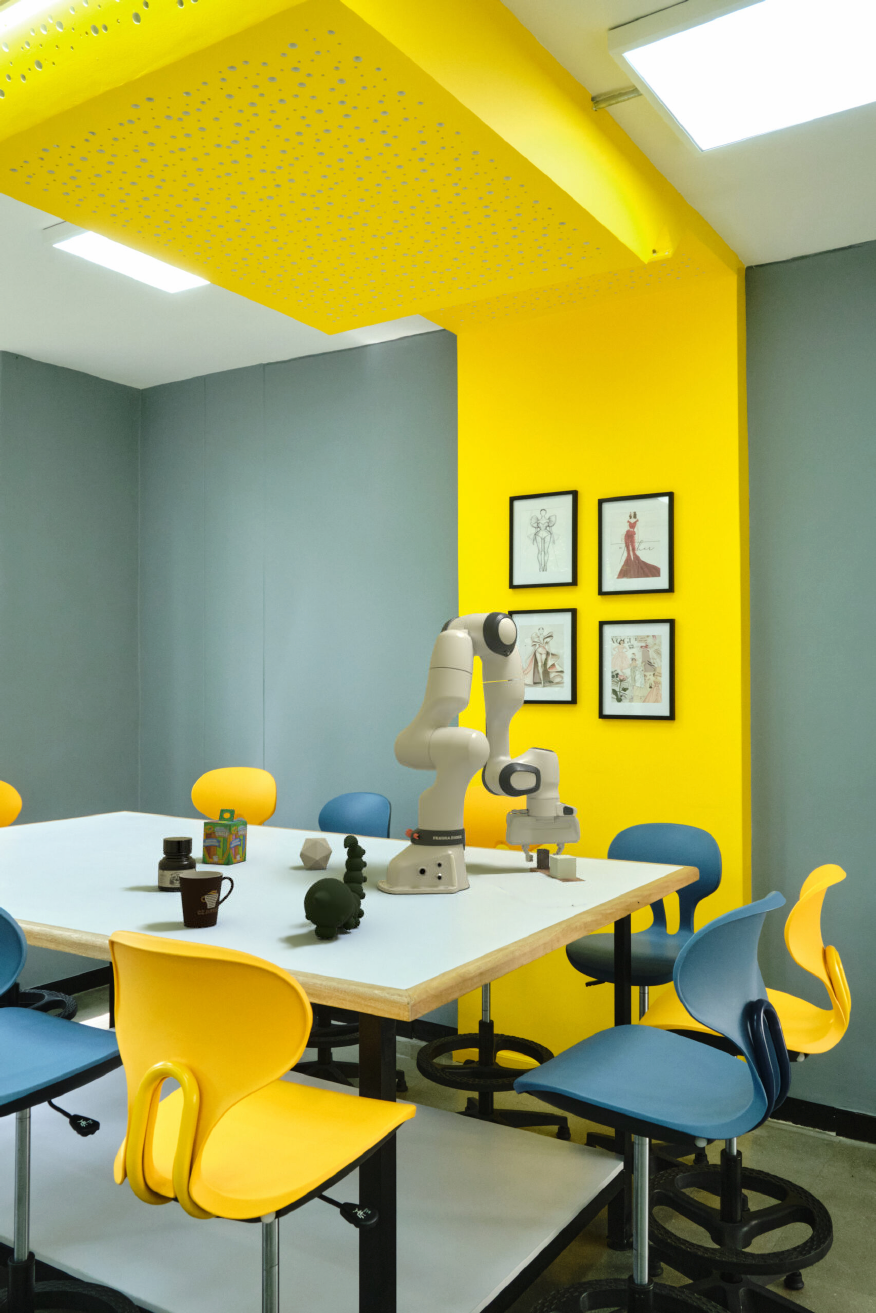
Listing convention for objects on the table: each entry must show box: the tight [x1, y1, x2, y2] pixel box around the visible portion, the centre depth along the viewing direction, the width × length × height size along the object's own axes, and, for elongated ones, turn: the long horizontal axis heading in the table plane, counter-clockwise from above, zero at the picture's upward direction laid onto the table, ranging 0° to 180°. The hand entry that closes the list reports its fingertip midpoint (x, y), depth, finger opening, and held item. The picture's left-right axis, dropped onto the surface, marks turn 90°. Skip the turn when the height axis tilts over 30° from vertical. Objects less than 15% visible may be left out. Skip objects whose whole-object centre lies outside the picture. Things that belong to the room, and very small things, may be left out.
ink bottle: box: [157, 836, 197, 892], centre depth 234 cm, size 10×9×12 cm
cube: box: [549, 854, 577, 880], centre depth 246 cm, size 5×5×5 cm
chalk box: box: [201, 808, 248, 866], centre depth 274 cm, size 9×9×15 cm
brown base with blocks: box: [529, 848, 586, 883], centre depth 250 cm, size 6×22×6 cm, turn 16°
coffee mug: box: [179, 870, 235, 929], centre depth 196 cm, size 12×9×10 cm
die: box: [299, 837, 333, 870], centre depth 264 cm, size 8×9×10 cm
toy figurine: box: [303, 834, 368, 940], centre depth 190 cm, size 9×19×25 cm
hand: (543, 860), depth 259 cm, fingers open, 6 cm apart
